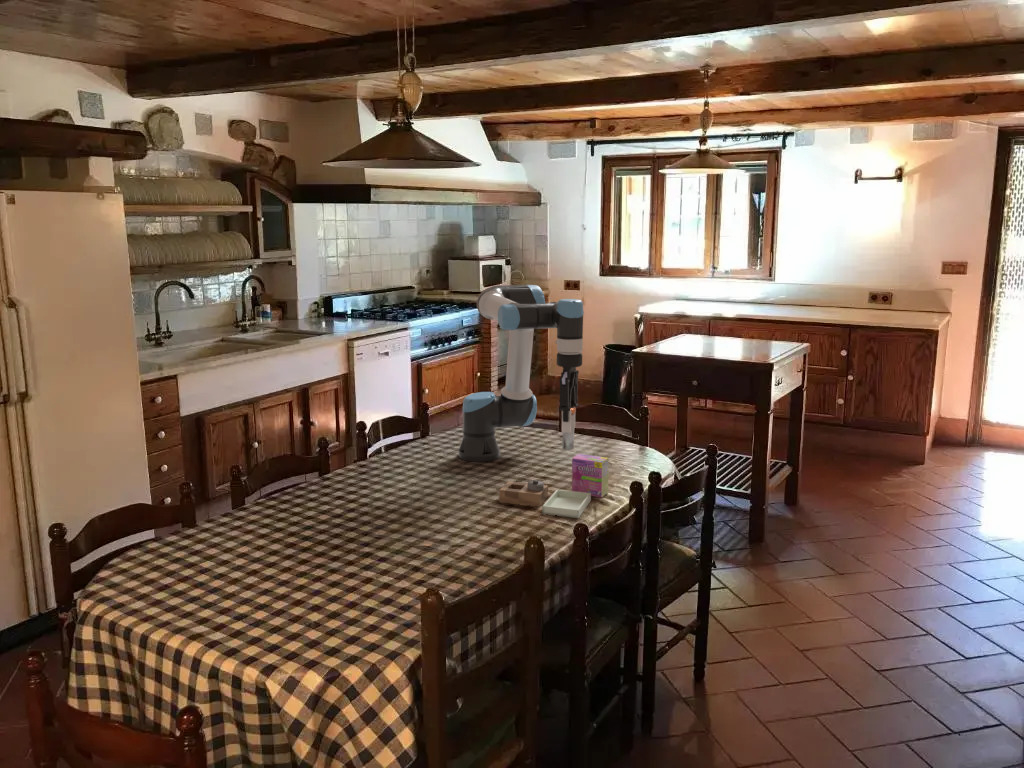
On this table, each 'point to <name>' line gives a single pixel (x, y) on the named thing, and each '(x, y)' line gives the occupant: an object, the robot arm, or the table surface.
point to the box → (590, 474)
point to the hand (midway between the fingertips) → (568, 429)
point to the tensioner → (524, 493)
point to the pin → (569, 437)
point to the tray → (566, 503)
